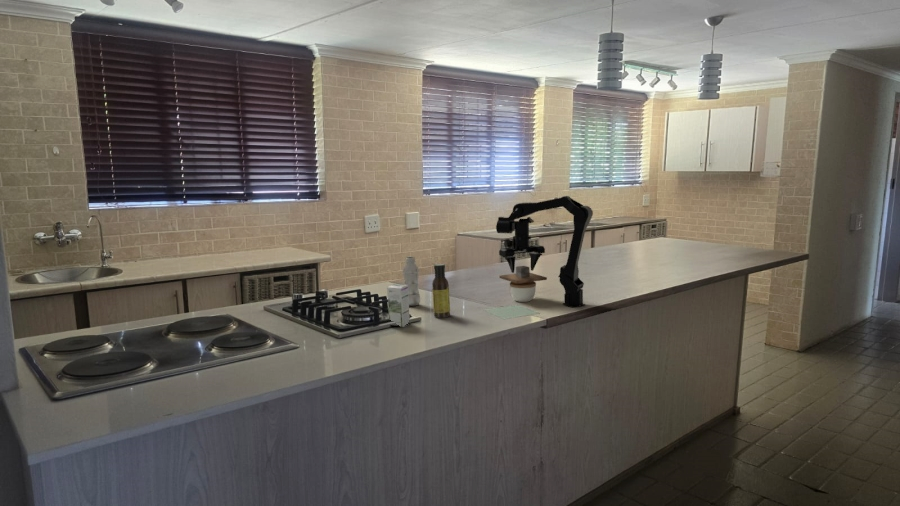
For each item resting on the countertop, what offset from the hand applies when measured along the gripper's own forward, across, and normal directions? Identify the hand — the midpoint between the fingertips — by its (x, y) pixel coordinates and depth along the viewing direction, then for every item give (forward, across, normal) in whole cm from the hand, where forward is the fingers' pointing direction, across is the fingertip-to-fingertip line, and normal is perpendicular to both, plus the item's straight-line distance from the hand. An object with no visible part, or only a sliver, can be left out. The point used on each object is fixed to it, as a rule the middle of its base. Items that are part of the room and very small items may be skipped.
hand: (522, 271), depth 237 cm
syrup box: (+13, +57, +8) cm, 59 cm away
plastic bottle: (+13, +42, -18) cm, 47 cm away
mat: (+12, +14, +14) cm, 23 cm away
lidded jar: (+13, 0, 0) cm, 13 cm away
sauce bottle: (+13, +39, +5) cm, 41 cm away
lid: (+3, 0, 0) cm, 3 cm away
